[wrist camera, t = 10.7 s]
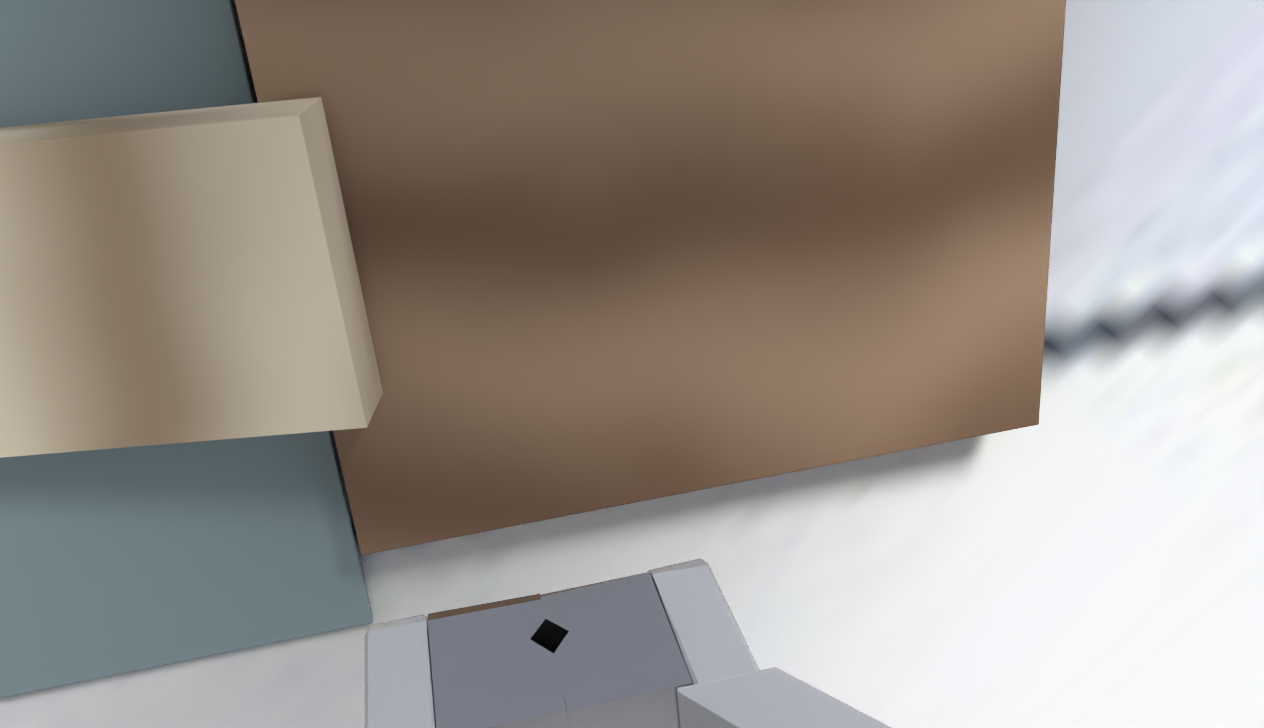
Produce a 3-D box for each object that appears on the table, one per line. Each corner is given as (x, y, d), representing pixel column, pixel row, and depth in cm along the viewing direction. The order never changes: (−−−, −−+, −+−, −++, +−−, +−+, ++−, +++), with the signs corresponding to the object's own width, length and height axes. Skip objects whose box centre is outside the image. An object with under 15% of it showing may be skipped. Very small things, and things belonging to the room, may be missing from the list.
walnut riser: (214, -147, 21) (201, -147, 19) (1026, -227, 23) (1080, -234, 22) (361, 508, 27) (361, 555, 25) (997, 389, 29) (1038, 423, 27)
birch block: (-47, 428, 24) (-89, 464, 22) (-159, 142, 21) (-213, 164, 20) (383, 392, 23) (367, 427, 22) (321, 96, 21) (298, 115, 19)
